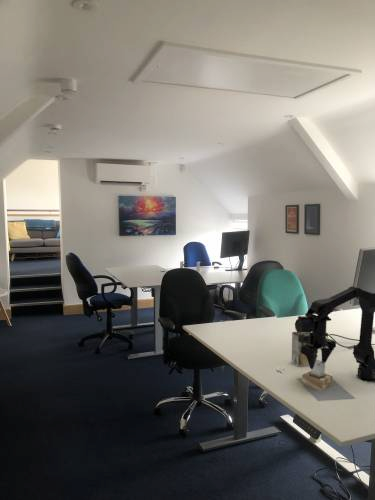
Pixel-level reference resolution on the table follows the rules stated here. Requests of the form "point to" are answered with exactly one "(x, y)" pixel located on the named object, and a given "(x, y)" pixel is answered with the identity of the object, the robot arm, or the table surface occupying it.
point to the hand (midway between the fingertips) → (317, 366)
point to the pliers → (280, 370)
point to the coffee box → (298, 350)
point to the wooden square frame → (317, 381)
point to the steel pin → (318, 369)
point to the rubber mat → (329, 392)
